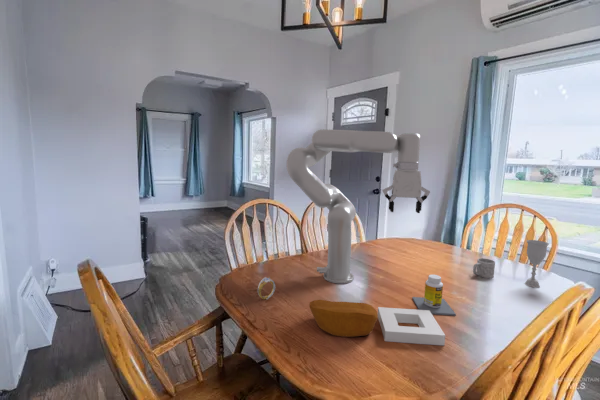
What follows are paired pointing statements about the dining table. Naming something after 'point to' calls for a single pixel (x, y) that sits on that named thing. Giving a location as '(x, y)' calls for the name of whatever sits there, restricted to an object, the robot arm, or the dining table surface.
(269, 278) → the ring
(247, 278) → the dining table surface
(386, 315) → the pocket block
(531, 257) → the chalice
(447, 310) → the slate mat
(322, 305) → the bread
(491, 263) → the mug
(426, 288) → the supplement bottle
